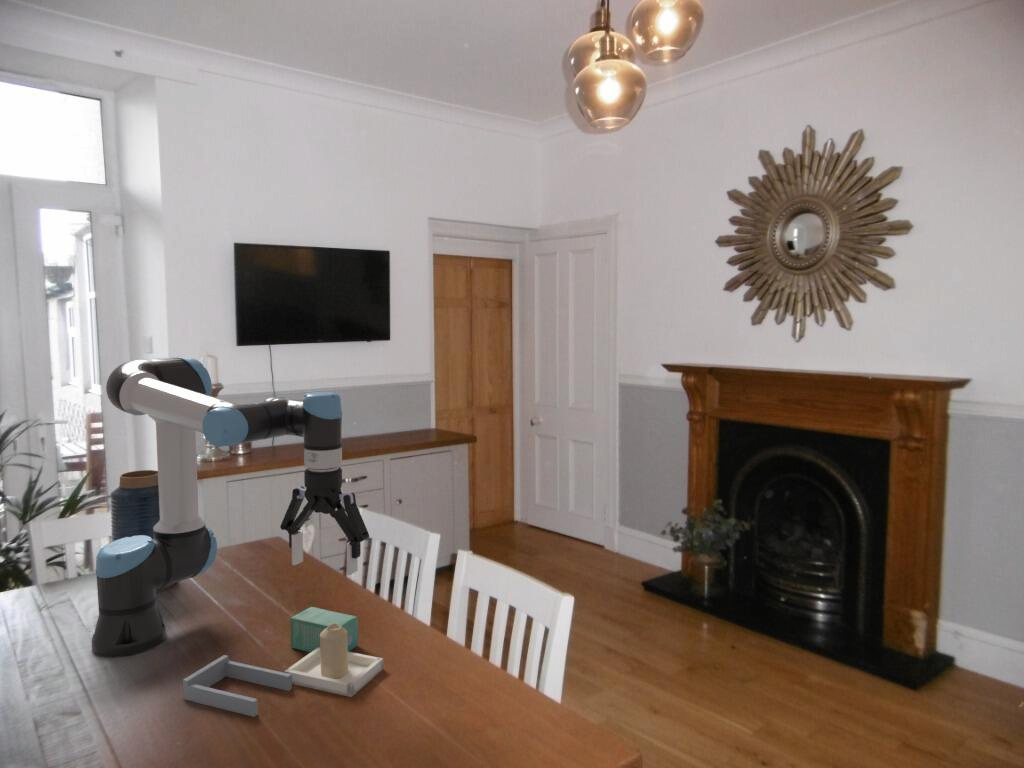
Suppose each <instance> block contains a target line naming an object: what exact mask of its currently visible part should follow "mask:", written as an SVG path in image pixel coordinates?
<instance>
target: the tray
mask: <svg viewBox="0 0 1024 768" xmlns="http://www.w3.org/2000/svg"><path fill="white" fill-rule="evenodd" d="M383 670H384V658H383V657H378V656H373V655H370V654H369V655H367V654H362V653H359V652H358V653H357V652H352V651H349V652H348V672H347V674H346V675H344V676H343V677H340V678H336V679H332V678H328V677H323V676H322V675H321V657H320V646H319V647H318V648H316V649H315V650H313V651H312V652H308V654H307V655H305V656H304V657H302V658H300V660H298V661H297V662H295V663H294V664H292V665H290V666H289V667H288V668H287V669H285V670H284V671H283V673H288V674H292V685H296V686H300V687H304V688H307V689H308V688H309V689H313V690H318V691H323V692H328V693H330V694H331V693H332V694H335V695H340V696H343V697H345V696H346V697H348V698H353V696H354V695H356V694H357V693H358V692H359V691H360V690H361V689H363V688H364V687H365V686H366V685H367V684H368V683H369V682H370V681H372V680H373V679H374V678H375V677H376V676H378V674H380V673H381V672H382V671H383Z"/></svg>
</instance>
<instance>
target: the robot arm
mask: <svg viewBox="0 0 1024 768" xmlns="http://www.w3.org/2000/svg"><path fill="white" fill-rule="evenodd" d="M212 383H213V382H212V379H211V375H210V373H209V371H208V369H207V368H206V367H205V365H204V364H203V363H202V362H200V361H199V360H198V359H196V358H193V357H185V356H184V357H183V356H174V357H162V358H159V357H158V358H149V359H133V360H129V361H126V362H123V363H122V364H120V365H118V366H117V367H116V368H115V369H114V370H112V371H111V373H110V374H109V376H108V378H107V381H106V386H105V389H106V391H105V393H106V394H107V399H109V402H110V403H111V404H112V406H114V407H115V408H117V409H118V410H120V411H122V412H124V413H127V414H130V415H133V416H143V415H148V417H150V419H152V420H153V421H154V422H155V434H156V436H155V439H156V458H157V459H156V461H157V471H158V488H159V513H160V520H159V522H158V523H157V524H156V525H155V526H154V527H153V539H152V538H151V537H149V536H145V535H136V536H132V537H125V538H122V539H118V540H116V541H113V542H112V541H110V542H109V543H107V544H106V545H104V546H103V547H101V548H100V550H98V553H97V554H96V559H95V570H94V571H95V576H96V587H97V588H96V589H97V602H98V617H97V619H96V624H95V629H94V633H93V634H92V637H91V651H92V652H93V654H95V655H97V656H101V657H108V658H115V657H125V656H131V655H136V654H139V653H143V652H145V651H147V650H148V651H149V650H151V649H153V648H155V647H157V646H158V645H160V644H161V643H162V642H164V641H165V639H166V637H167V625H166V623H165V621H164V620H163V619H164V618H163V616H162V614H161V612H160V609H159V607H158V605H157V593H156V590H157V589H159V588H162V587H164V586H167V585H170V584H173V583H178V582H182V581H184V580H188V579H191V578H194V577H197V576H198V575H199V574H203V573H205V572H206V571H208V570H209V569H210V568H211V566H213V564H214V563H215V561H216V557H217V554H218V553H217V552H218V542H217V538H216V536H214V535H215V533H214V531H213V530H212V528H210V527H209V526H208V525H207V524H206V521H205V520H204V519H203V518H202V517H200V516H199V515H200V514H199V494H198V488H199V487H198V466H197V465H198V463H197V461H198V460H197V458H198V457H197V438H196V435H197V433H198V432H199V433H202V434H203V437H204V438H205V440H207V441H208V442H209V444H210V445H211V446H212V447H216V448H222V447H234V446H237V445H242V444H247V443H251V442H257V441H262V440H267V439H272V438H278V437H283V436H294V437H300V438H301V437H302V438H303V456H304V457H303V466H304V467H305V470H304V471H303V472H304V475H303V476H304V480H303V481H304V486H299V487H296V488H293V489H292V492H291V493H292V494H291V500H290V503H289V505H288V507H287V510H286V512H285V514H284V516H283V519H282V521H281V523H280V526H279V527H280V530H282V531H284V530H285V531H286V532H287V533H288V545H289V548H290V549H291V565H292V566H296V565H298V564H301V563H303V562H304V541H303V540H304V535H303V533H304V532H303V531H301V530H302V527H303V525H305V523H306V522H307V520H308V519H309V518H310V516H311V515H312V514H313V513H316V514H317V513H322V514H325V515H328V514H329V516H331V518H332V519H333V518H334V521H336V523H337V524H338V525H339V528H340V529H341V530H342V533H344V535H345V537H346V538H347V540H349V541H348V542H347V543H346V575H347V576H351V575H352V574H354V573H356V572H358V562H359V561H358V559H359V558H360V557H361V555H362V554H361V543H362V542H363V541H366V540H367V539H369V538H370V533H369V531H368V529H367V527H366V525H365V521H364V519H363V517H362V514H361V512H360V510H359V507H358V505H357V502H356V501H357V499H356V495H355V493H354V492H350V493H344V494H343V493H342V492H343V491H342V484H343V469H342V468H341V466H343V446H342V445H343V443H342V418H343V417H342V416H343V412H342V411H343V410H342V401H341V400H342V399H341V396H340V394H338V393H336V392H332V391H312V392H307V393H305V394H304V395H303V397H302V399H303V400H301V399H292V398H286V397H281V396H280V397H269V398H267V399H266V400H264V401H261V402H260V401H259V402H253V403H246V404H245V403H244V404H237V403H234V402H230V401H228V400H225V399H221V398H217V397H215V396H212V392H213V391H212V390H213V386H212V385H213V384H212ZM196 432H197V433H196ZM304 499H306V501H307V503H306V504H305V505H304V507H303V508H302V510H301V512H300V513H299V510H300V508H301V506H302V504H303V501H304ZM298 513H299V515H298Z"/></svg>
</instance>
